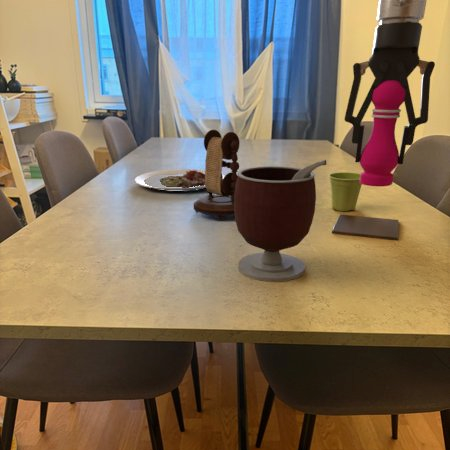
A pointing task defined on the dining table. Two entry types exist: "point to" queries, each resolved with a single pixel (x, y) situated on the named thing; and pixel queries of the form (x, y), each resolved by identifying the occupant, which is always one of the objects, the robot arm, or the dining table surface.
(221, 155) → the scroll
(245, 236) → the mate gourd
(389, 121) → the pepper mill
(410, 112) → the robot arm
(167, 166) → the dining table surface
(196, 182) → the plated food
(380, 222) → the coaster board
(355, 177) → the plant pot
